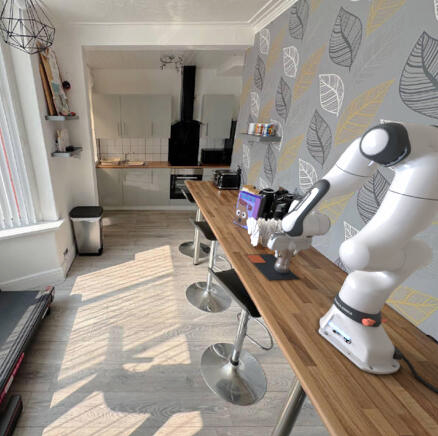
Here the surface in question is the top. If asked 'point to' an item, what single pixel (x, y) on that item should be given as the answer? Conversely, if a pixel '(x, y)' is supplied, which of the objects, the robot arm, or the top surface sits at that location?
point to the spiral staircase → (262, 230)
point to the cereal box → (248, 208)
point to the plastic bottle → (285, 258)
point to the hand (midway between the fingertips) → (284, 256)
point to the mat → (270, 267)
